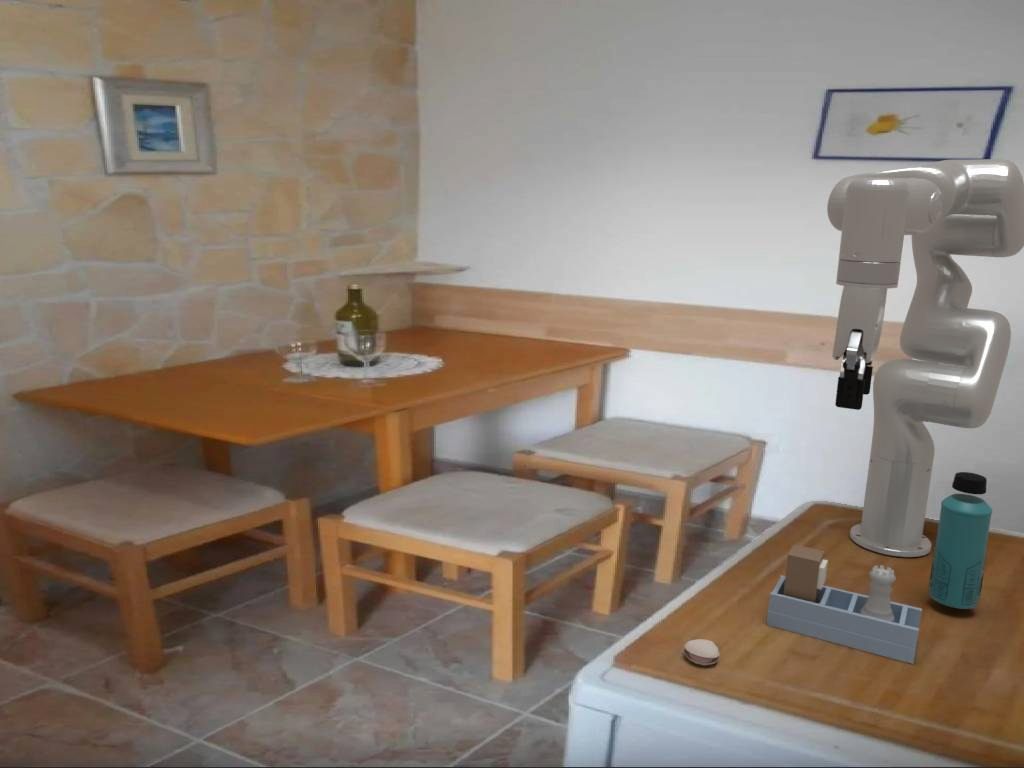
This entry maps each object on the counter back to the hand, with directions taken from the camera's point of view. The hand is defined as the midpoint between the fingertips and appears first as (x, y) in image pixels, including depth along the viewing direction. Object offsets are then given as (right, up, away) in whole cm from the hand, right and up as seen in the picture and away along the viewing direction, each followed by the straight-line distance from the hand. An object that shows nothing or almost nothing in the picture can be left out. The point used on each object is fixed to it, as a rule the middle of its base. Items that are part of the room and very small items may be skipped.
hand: (852, 400), depth 112 cm
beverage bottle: (+16, -30, +5) cm, 34 cm away
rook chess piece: (+1, -30, -5) cm, 30 cm away
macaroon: (-23, -32, -10) cm, 41 cm away
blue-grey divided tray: (-3, -31, -3) cm, 31 cm away
